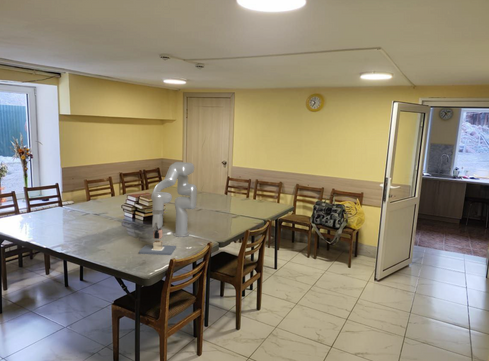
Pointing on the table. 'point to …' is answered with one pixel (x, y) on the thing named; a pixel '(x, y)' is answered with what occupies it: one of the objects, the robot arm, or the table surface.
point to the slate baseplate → (164, 251)
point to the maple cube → (157, 245)
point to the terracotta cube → (159, 234)
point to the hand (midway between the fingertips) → (157, 236)
